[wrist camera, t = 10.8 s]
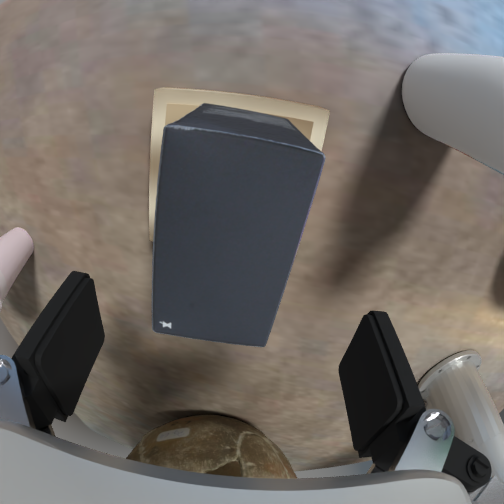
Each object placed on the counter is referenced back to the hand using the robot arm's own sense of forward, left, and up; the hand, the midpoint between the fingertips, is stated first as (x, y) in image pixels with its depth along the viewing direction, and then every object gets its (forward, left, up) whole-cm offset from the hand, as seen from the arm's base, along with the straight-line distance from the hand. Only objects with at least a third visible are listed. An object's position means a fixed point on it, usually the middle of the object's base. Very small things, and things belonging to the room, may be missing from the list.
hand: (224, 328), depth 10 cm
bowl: (-42, 0, -17) cm, 45 cm away
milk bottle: (+10, -15, -17) cm, 25 cm away
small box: (0, 0, -14) cm, 14 cm away
